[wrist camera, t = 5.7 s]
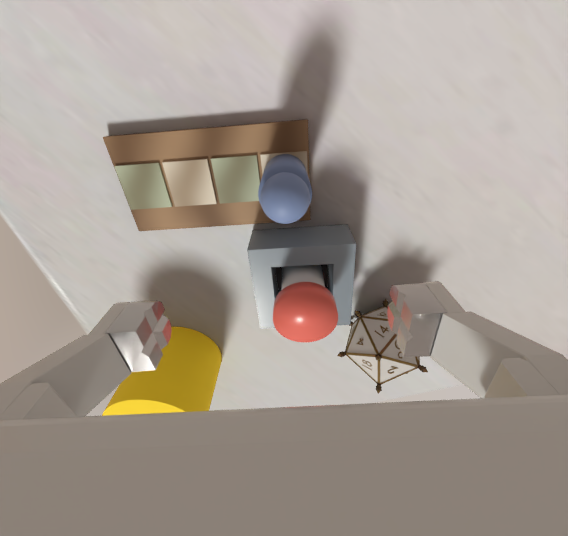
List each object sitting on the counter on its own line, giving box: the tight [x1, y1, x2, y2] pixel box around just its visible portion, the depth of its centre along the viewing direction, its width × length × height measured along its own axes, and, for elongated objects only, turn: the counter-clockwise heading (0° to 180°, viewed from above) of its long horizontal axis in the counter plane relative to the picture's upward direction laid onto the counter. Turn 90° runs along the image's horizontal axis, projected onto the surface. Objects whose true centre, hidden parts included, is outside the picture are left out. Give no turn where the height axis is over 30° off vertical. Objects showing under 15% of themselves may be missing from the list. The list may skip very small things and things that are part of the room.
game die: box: [337, 299, 428, 394], centre depth 29 cm, size 9×8×10 cm
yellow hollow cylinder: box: [102, 327, 222, 416], centre depth 32 cm, size 10×10×9 cm
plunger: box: [273, 265, 338, 342], centre depth 25 cm, size 5×5×7 cm
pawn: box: [258, 154, 312, 224], centre depth 19 cm, size 4×4×7 cm
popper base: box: [247, 224, 356, 329], centre depth 27 cm, size 9×9×4 cm
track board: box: [103, 119, 310, 231], centre depth 23 cm, size 16×8×1 cm, turn 94°
